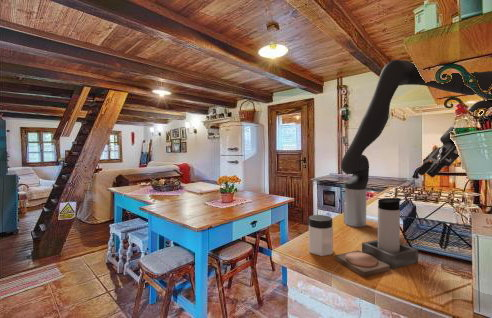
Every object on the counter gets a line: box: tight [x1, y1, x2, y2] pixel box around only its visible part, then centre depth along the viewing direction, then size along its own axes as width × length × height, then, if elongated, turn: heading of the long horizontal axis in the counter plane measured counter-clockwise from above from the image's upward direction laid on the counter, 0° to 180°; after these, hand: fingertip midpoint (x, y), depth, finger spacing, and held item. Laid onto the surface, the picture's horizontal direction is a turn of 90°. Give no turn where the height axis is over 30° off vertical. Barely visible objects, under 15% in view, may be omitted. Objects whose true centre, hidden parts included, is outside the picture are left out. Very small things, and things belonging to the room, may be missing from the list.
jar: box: [307, 214, 334, 257], centre depth 88 cm, size 9×8×12 cm
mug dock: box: [334, 239, 419, 278], centre depth 80 cm, size 12×23×4 cm, turn 111°
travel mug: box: [377, 197, 402, 254], centre depth 82 cm, size 6×7×20 cm
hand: (423, 174), depth 78 cm, fingers open, 8 cm apart
